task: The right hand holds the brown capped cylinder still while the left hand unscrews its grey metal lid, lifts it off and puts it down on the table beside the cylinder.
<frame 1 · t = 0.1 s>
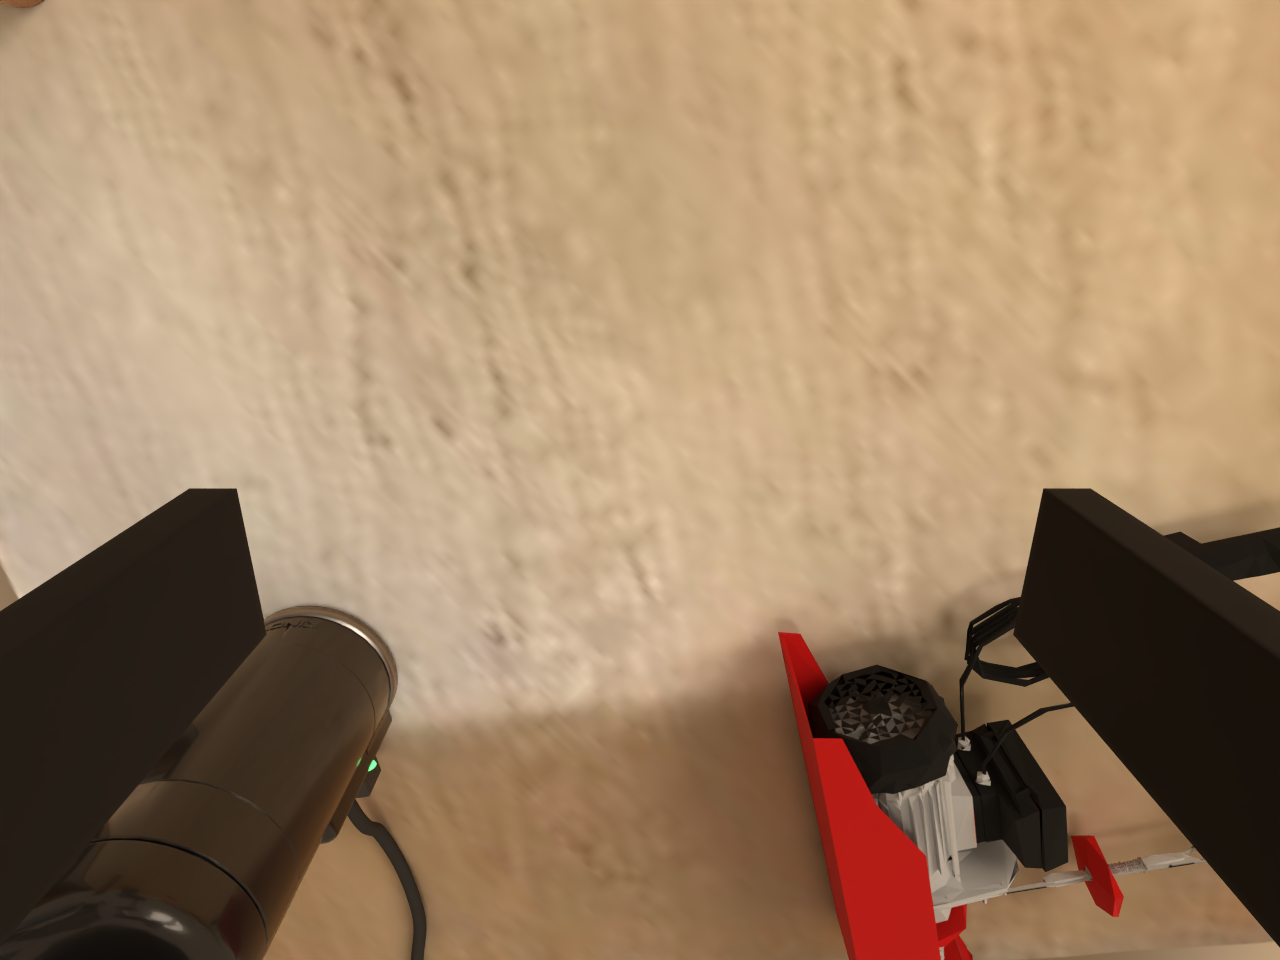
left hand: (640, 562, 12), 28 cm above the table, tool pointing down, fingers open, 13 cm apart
electric hoist: (1037, 735, 48), on the table
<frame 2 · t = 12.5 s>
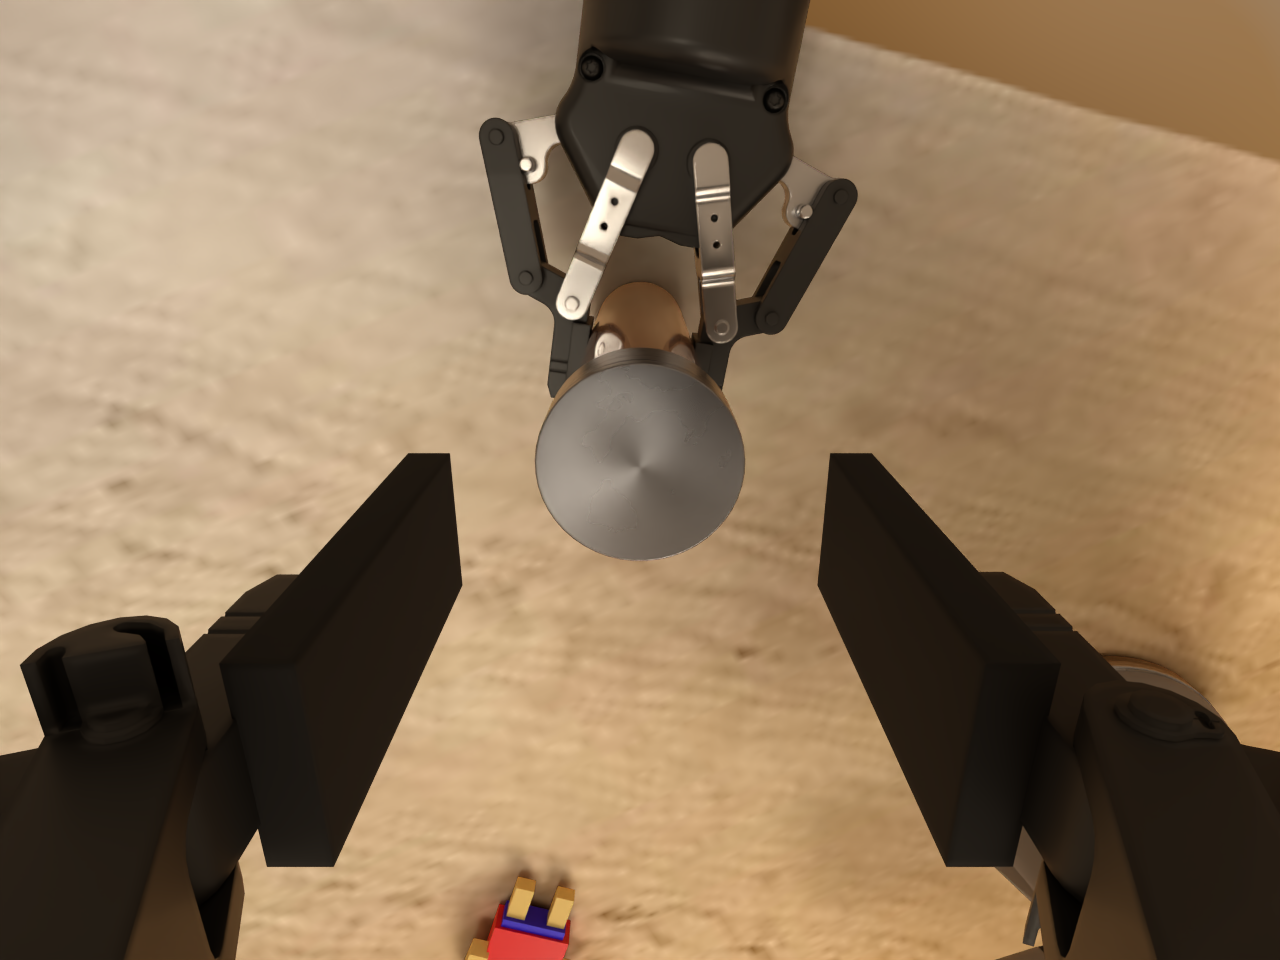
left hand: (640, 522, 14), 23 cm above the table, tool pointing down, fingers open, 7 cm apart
right hand: (630, 417, 30), fingers closed on brown capped cylinder, 4 cm apart
lid: (640, 462, 17), point 19 cm above the table, screwed on, not yet turned
toy figure: (524, 941, 50), on the table
brown capped cylinder: (640, 325, 35), on the table, touching right hand
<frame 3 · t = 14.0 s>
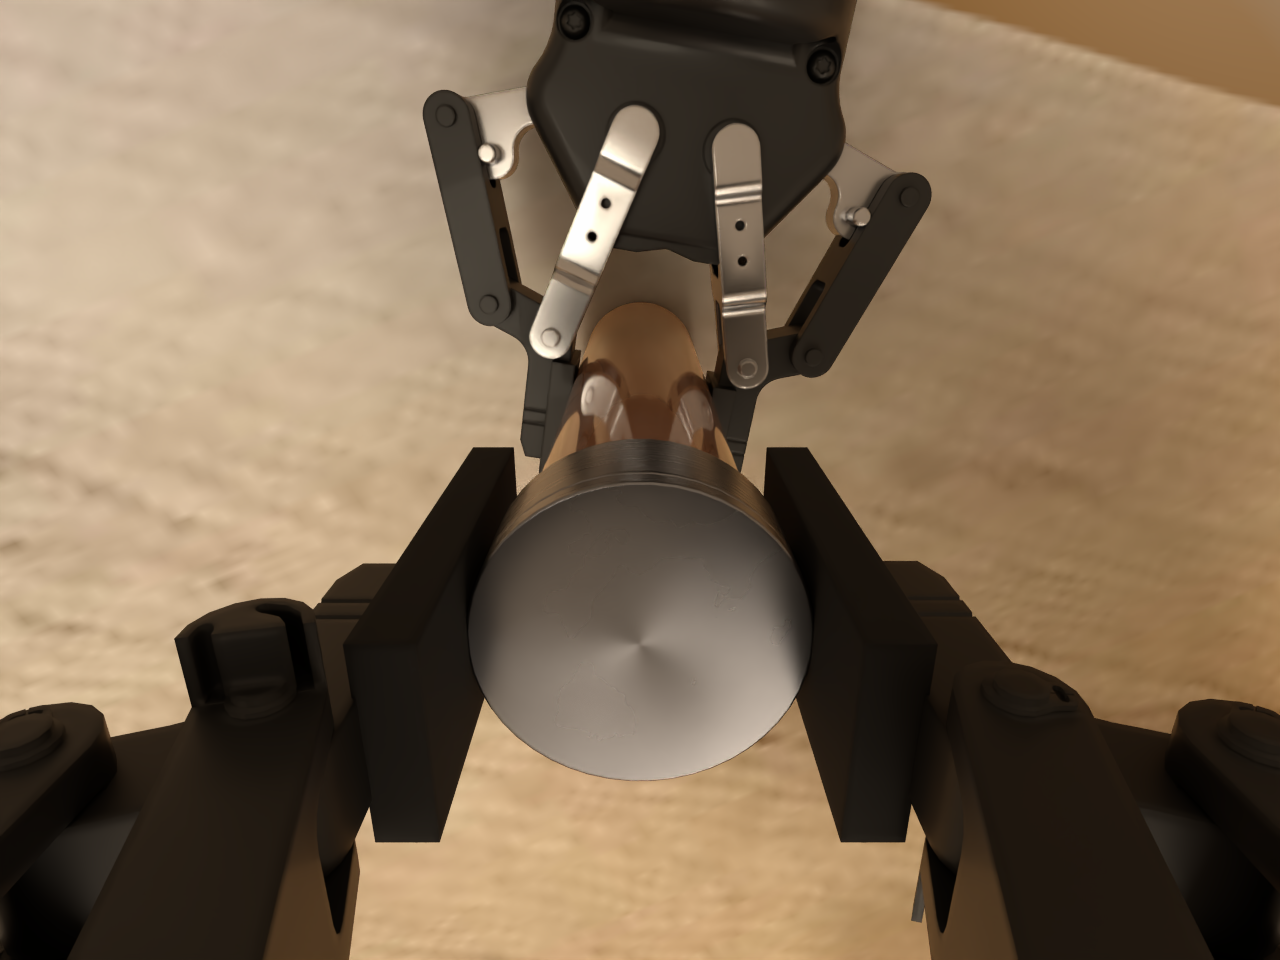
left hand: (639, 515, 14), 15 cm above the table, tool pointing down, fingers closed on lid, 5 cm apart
right hand: (627, 478, 24), fingers closed on brown capped cylinder, 4 cm apart
lid: (640, 630, 10), point 19 cm above the table, screwed on, not yet turned, touching left hand
brown capped cylinder: (640, 356, 28), on the table, touching right hand
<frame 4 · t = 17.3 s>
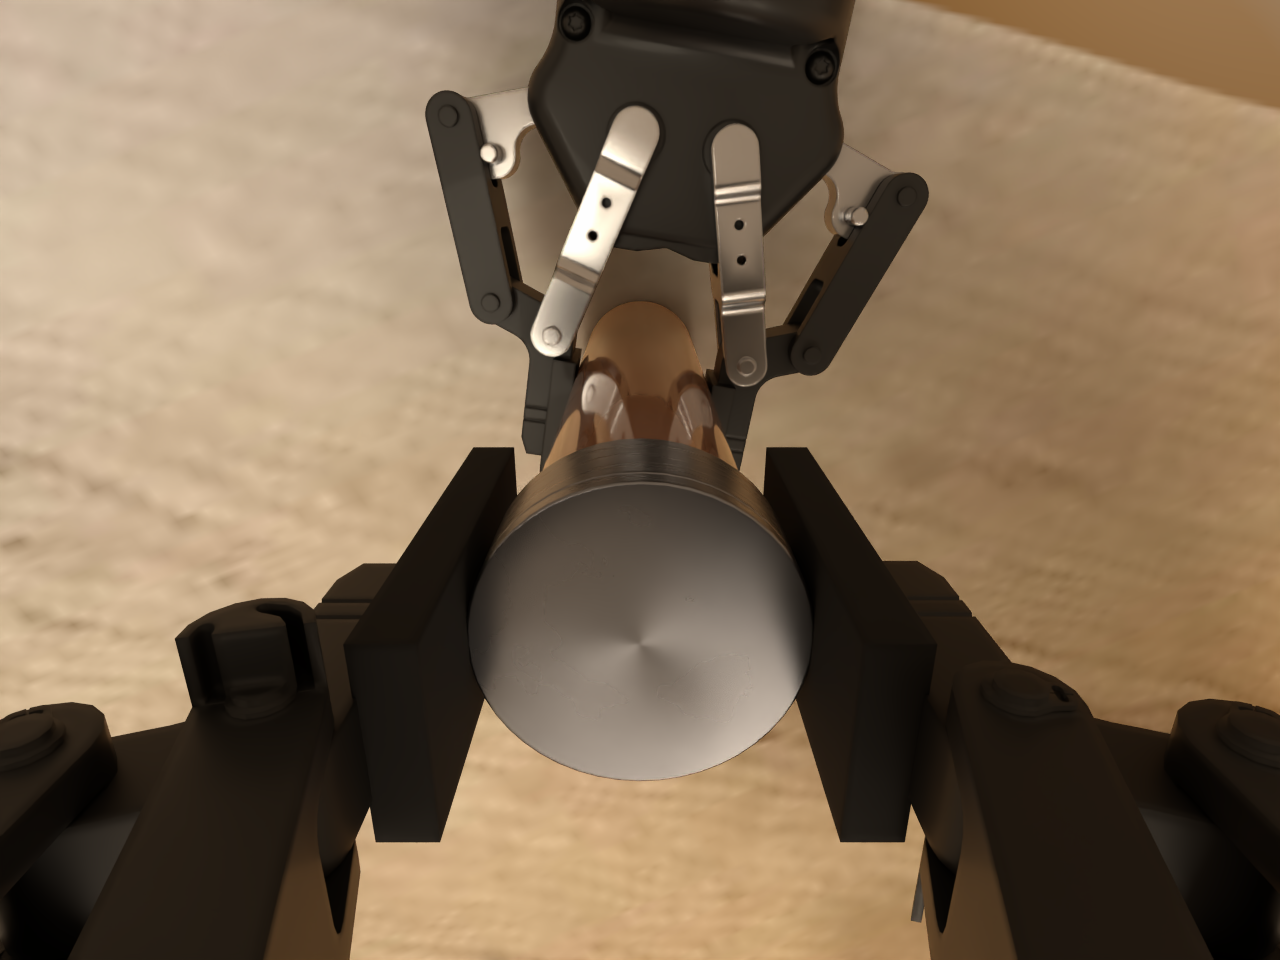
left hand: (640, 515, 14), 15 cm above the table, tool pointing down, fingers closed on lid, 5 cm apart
right hand: (627, 476, 24), fingers closed on brown capped cylinder, 4 cm apart
lid: (640, 630, 10), point 20 cm above the table, turned 86° so far, risen 0.2 cm, still on its thread, touching left hand
brown capped cylinder: (640, 354, 29), on the table, touching right hand
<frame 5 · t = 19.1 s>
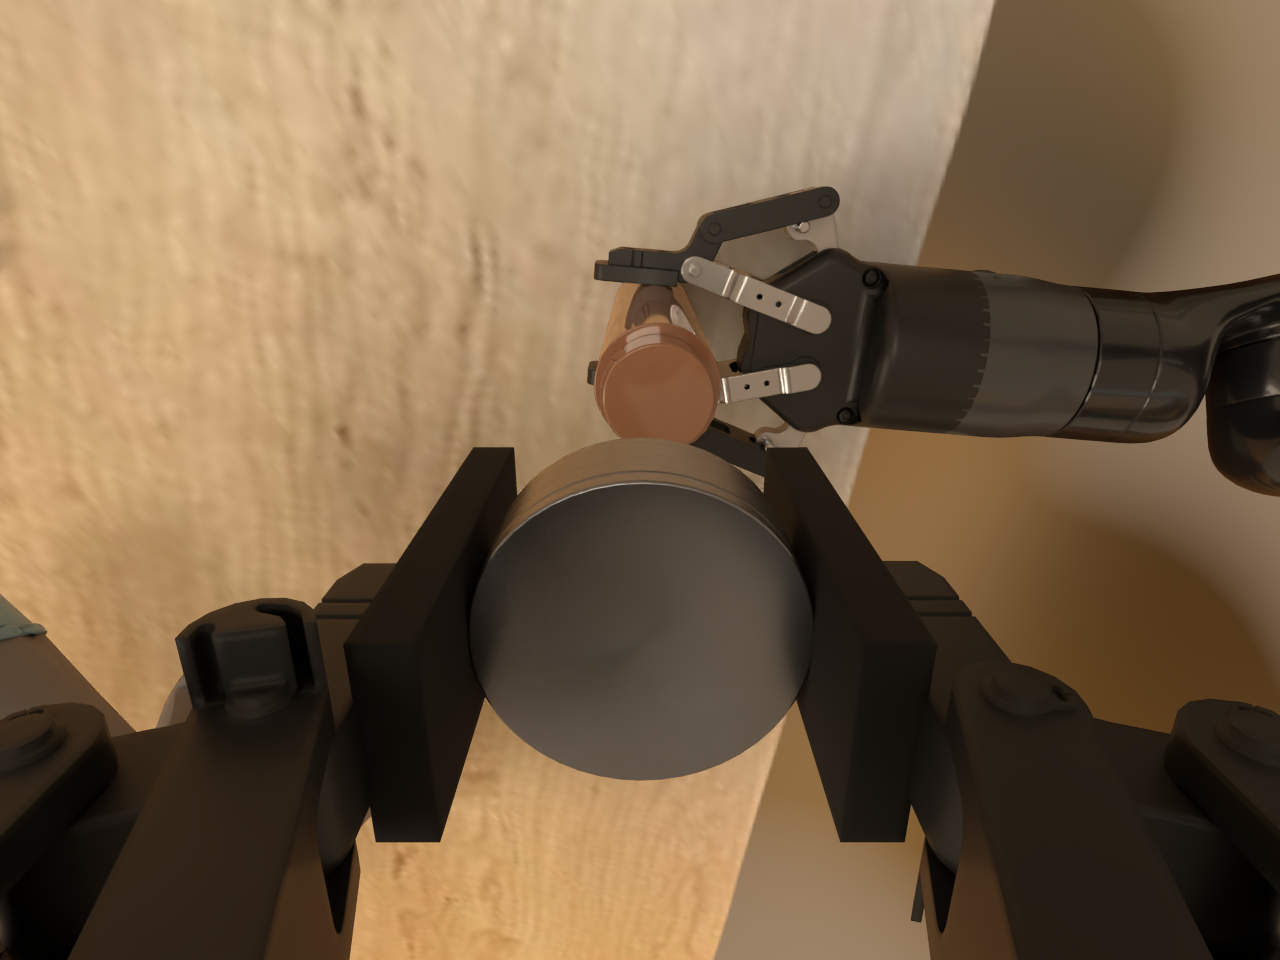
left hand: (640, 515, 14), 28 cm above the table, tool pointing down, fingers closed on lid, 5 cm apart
right hand: (593, 322, 34), fingers closed on brown capped cylinder, 4 cm apart
lid: (641, 629, 10), point 32 cm above the table, off its thread, touching left hand
brown capped cylinder: (651, 308, 40), on the table, touching right hand
when the left hand's fingers open (0 cm above the table, at t = 25.7 s): lid drops 2 cm, point 1 cm above the table.
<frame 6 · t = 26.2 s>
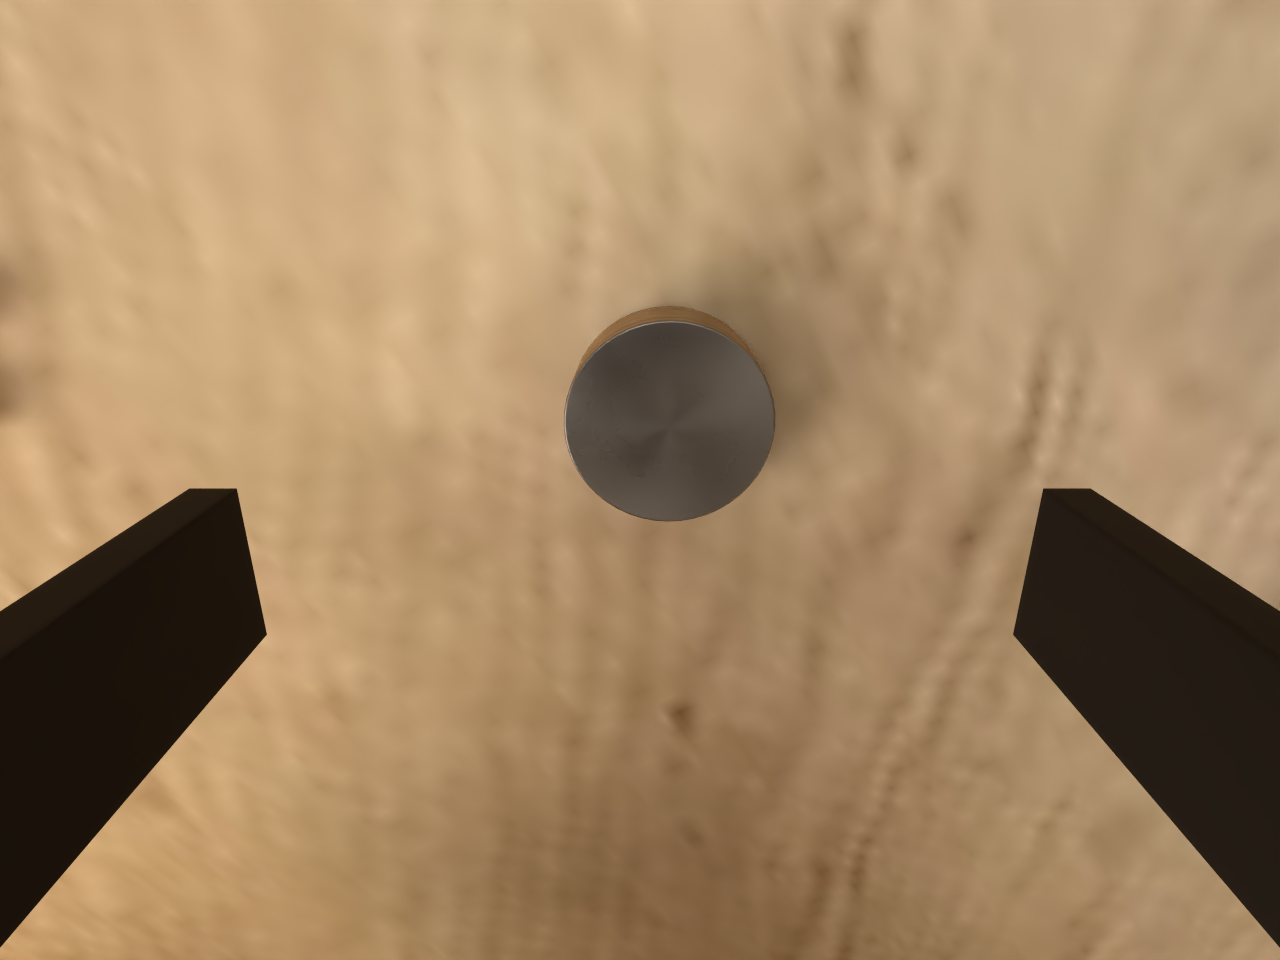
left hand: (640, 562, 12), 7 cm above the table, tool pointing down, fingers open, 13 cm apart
lid: (668, 421, 17), point 1 cm above the table, off its thread
when the right hand's fingers open (6 cm above the table, at t = 26.2 s): brown capped cylinder stays where it is, on the table.
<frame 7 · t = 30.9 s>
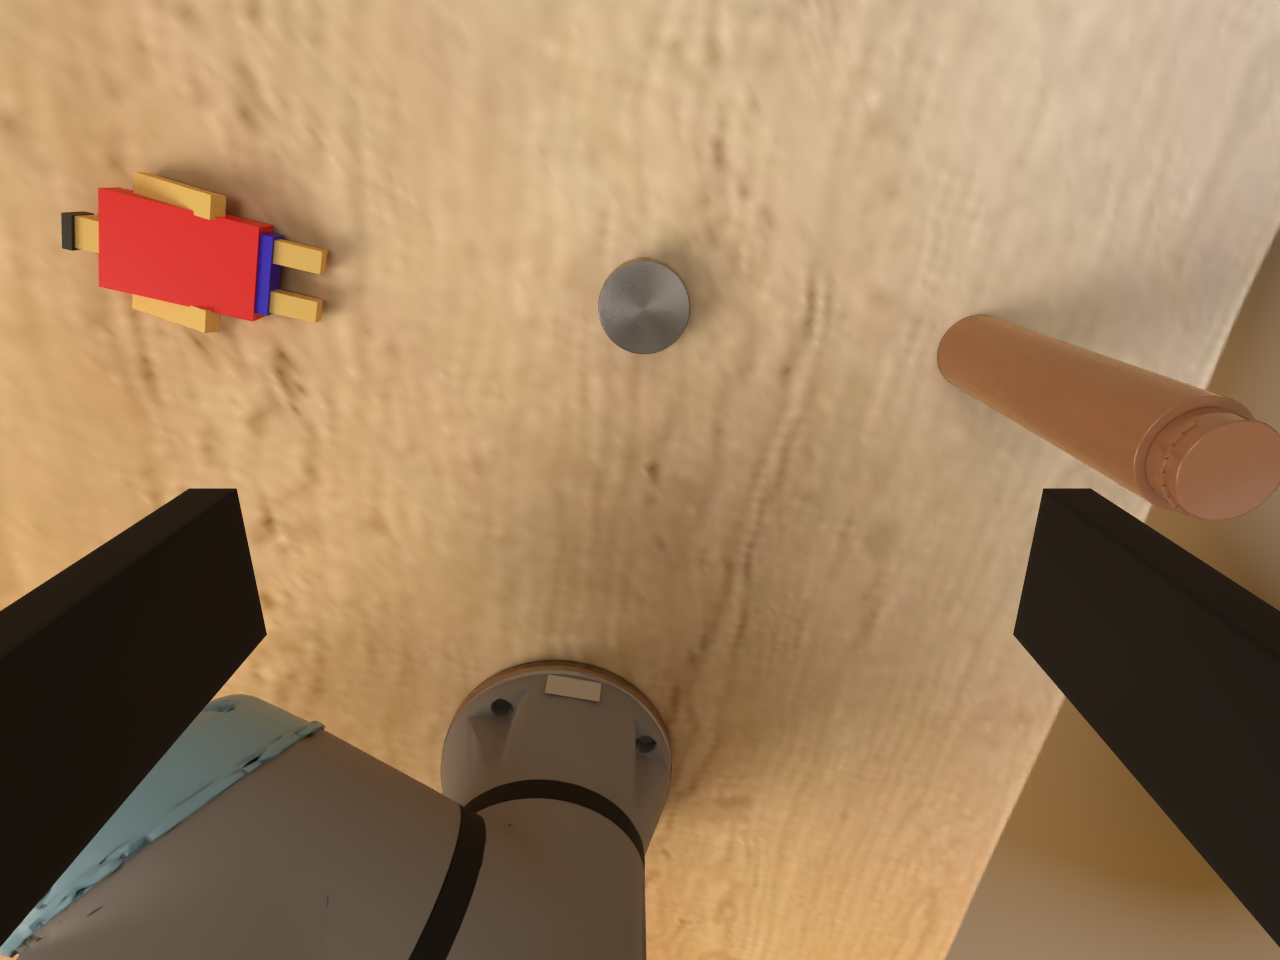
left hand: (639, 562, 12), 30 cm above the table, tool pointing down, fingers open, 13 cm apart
lid: (644, 307, 39), point 1 cm above the table, off its thread
toy figure: (213, 257, 39), on the table
brown capped cylinder: (974, 352, 41), on the table
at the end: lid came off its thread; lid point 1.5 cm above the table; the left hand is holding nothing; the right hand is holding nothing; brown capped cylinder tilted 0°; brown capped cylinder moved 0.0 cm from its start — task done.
